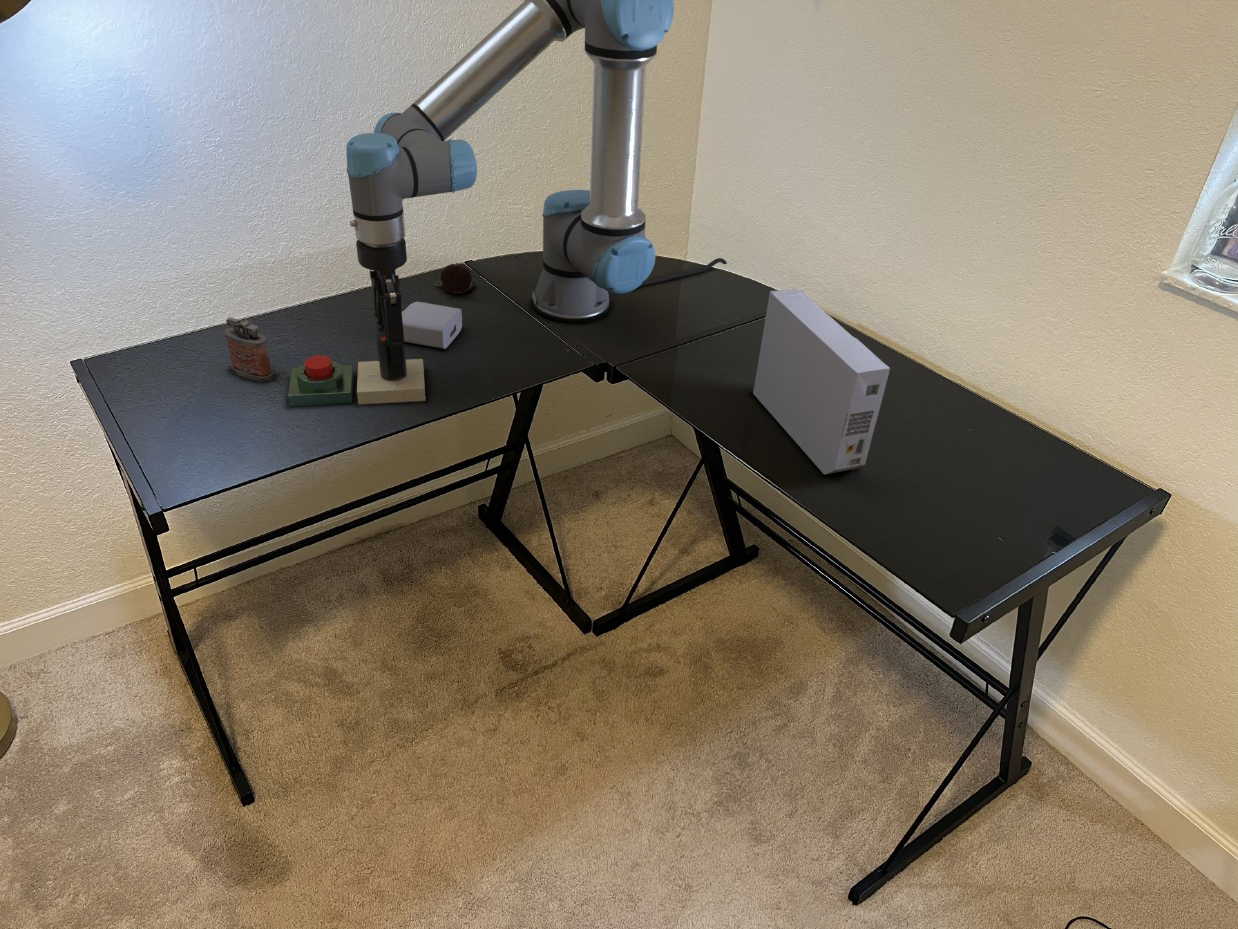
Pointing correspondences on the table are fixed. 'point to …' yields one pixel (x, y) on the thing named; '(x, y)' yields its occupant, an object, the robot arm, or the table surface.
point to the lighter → (248, 350)
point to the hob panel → (390, 384)
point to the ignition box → (321, 387)
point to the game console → (818, 382)
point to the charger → (431, 324)
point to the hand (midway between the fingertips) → (393, 368)
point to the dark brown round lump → (456, 279)
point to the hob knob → (382, 358)
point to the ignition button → (319, 367)
